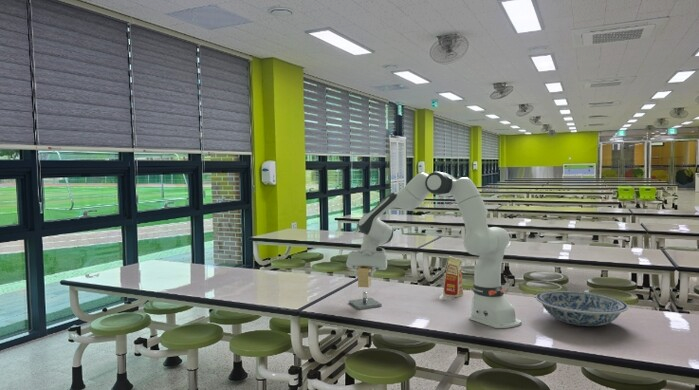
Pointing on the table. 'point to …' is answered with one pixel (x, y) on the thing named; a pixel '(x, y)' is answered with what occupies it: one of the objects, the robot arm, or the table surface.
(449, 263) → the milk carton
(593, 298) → the ceramic bowl
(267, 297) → the table surface
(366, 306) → the grey peg base
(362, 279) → the sleeve
